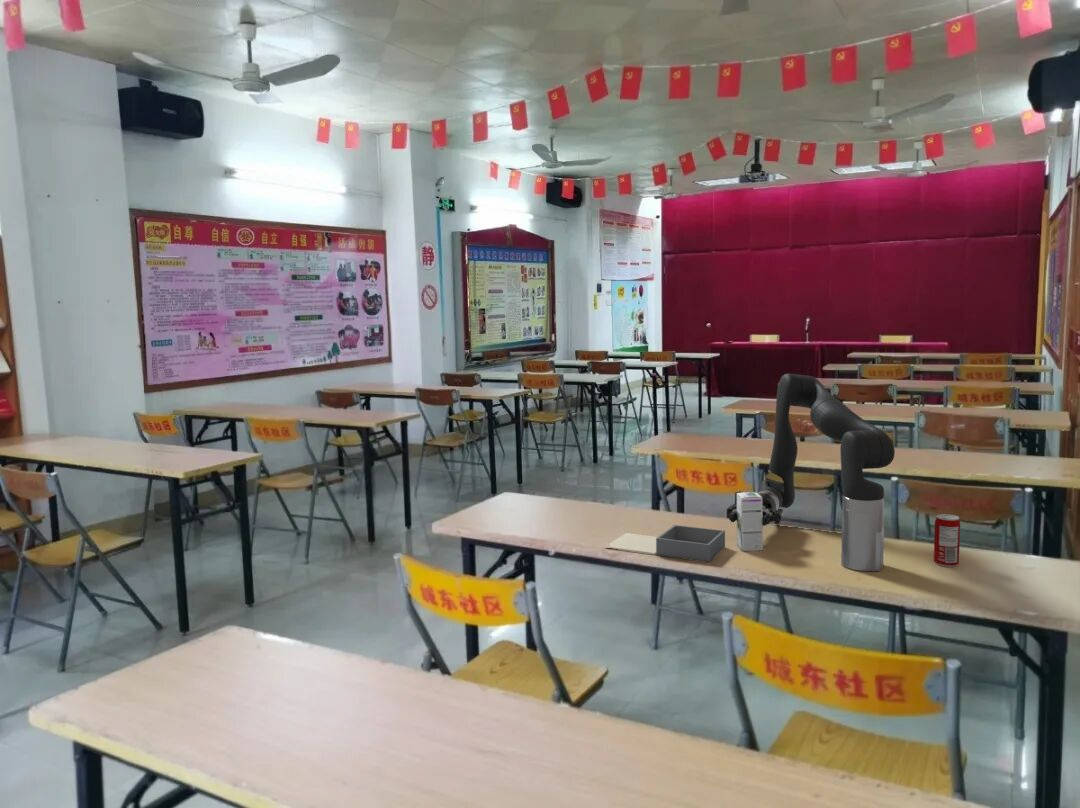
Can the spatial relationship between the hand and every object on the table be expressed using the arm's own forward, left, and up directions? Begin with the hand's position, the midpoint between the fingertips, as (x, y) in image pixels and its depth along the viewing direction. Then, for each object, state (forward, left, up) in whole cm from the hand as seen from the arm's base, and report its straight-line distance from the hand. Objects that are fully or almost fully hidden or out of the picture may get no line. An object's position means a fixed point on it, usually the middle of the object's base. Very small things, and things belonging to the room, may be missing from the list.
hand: (747, 520), depth 205 cm
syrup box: (0, -2, -8) cm, 8 cm away
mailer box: (+20, +7, -8) cm, 23 cm away
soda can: (-46, -9, -8) cm, 48 cm away
